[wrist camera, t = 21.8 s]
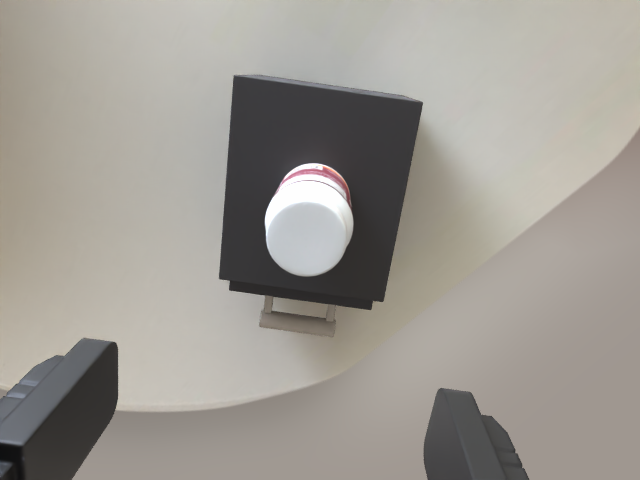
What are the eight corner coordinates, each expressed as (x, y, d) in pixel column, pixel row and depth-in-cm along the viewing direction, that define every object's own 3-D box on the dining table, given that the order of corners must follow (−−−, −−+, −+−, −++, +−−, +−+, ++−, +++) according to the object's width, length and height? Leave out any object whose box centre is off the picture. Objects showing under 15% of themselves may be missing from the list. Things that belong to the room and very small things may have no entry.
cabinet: (374, 254, 43) (383, 302, 34) (244, 235, 43) (218, 279, 34) (403, 95, 38) (423, 102, 29) (258, 74, 38) (233, 74, 29)
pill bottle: (331, 244, 32) (328, 299, 24) (266, 213, 32) (242, 260, 24) (363, 182, 31) (372, 218, 23) (296, 149, 30) (281, 175, 22)
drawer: (357, 311, 44) (361, 360, 36) (244, 295, 44) (224, 341, 36) (391, 124, 38) (404, 136, 31) (261, 106, 38) (242, 113, 31)
